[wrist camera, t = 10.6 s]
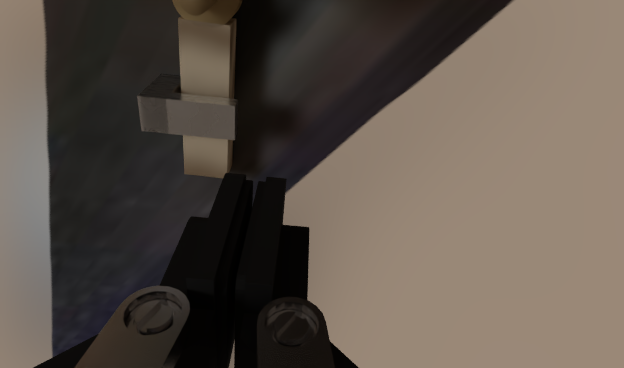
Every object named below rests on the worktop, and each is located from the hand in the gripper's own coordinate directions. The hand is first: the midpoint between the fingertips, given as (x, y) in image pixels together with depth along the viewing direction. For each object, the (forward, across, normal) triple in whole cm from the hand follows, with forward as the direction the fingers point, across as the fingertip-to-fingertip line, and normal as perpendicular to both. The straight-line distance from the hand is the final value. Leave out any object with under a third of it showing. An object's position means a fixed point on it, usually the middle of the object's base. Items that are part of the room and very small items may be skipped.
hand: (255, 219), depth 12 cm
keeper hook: (+27, +8, +7) cm, 29 cm away
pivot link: (+27, +7, +5) cm, 28 cm away
